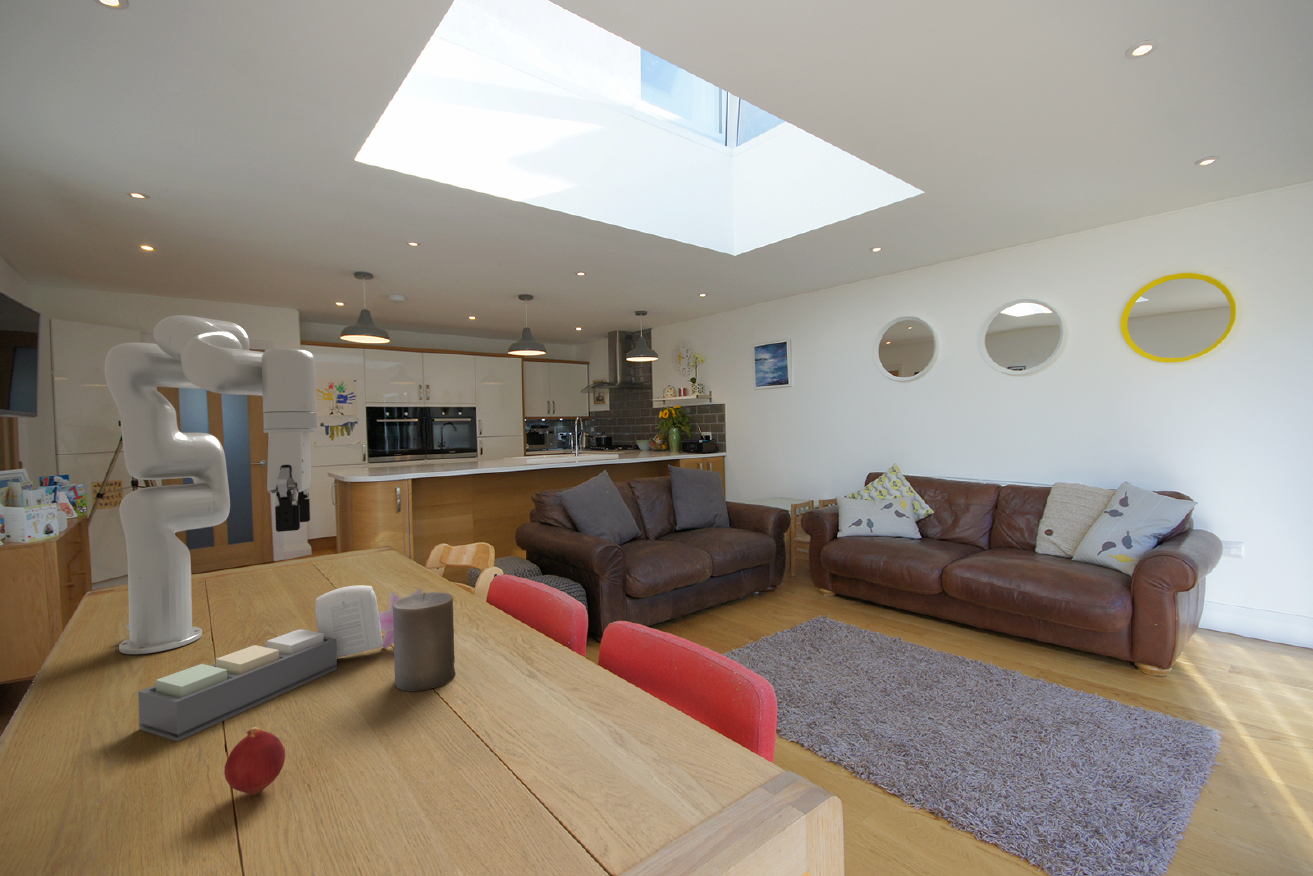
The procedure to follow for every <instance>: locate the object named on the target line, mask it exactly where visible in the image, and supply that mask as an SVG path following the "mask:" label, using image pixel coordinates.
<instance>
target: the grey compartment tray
mask: <svg viewBox="0 0 1313 876" xmlns="http://www.w3.org/2000/svg"><path fill="white" fill-rule="evenodd" d="M262 647H267V644H265V645H264V646H262ZM337 660H338V658H337V646H336V639H334V638H329V637H324V642H322V643H320V644H317V645H315V646H312V647H310V648H307V649H304V650H302V651H299V652H297V653H294V654H292V655H289V654H284V653H279V660H276V661H274V662H271V663H269V664H266V665H264V666H261V667H259V668H256V669H254V670H251V671H248V672H246V673H243V674H241V675H239V674H235V673H231V672H227V680H225V681H223V682H220V683H218V684H215V685H213V686H210V687H208V688H205V689H203V690H200V691H197V692H195V693H192V694H190V695H187V696H185V697H182V698H176V697H172V696H168V695H165V694H161V693H157V692H156V684H155V685H152V686H149V687H147V688H145V689H144V688H143V689H142V690H138V693H137V694H138V725H139V726H138V729H139V730H140V731H143V732H146V733H150V734H153V735H156V736H159V737H162V738H166V739H169V740H172V741H175V742H180V741H182V740H185V739H186V738H188V737H190V736H193V735H196V734H197V733H199V732H201V731H203V730H206V729H208V728H210V727H213V726H215V725H217V724H219V723H221V722H223V721H226V720H228V719H231V718H233V717H235V716H237V715H240V714H241V713H243V712H246V711H248V710H250V709H253V708H254V707H256V706H259V705H261V704H264V703H266V702H268V701H270V700H272V699H275V698H277V697H279V696H282V695H283V694H286V693H288V692H290V691H293V690H294V689H296V688H299V687H301V686H304V685H306V684H308V683H310V682H312V681H314V680H316V679H318V678H320V677H323V676H325V675H327V674H329V673H331V672H334V671H336V669H337V670H338V661H337ZM210 666H213V667H216V663H214V664H211V665H210Z"/></svg>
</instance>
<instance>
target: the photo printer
mask: <svg viewBox="0 0 1313 876" xmlns="http://www.w3.org/2000/svg"><path fill="white" fill-rule="evenodd" d="M314 612H315V618H316V624H317V626H316V627H317V632H319V633H323V634H324V637H329V638H334V639H336V646H337V659H338V658H342V657H347V656H350V655H355V654H359V653H362V652H367V651H371V650H375V649H379V648H382V645H383V639H384V638H383V634H382V633H383V632H382V630H381V625H380V619H379V613H380V612H379V606H378V600H377V595H376V593H375V591H374V588H373V586H372V585H363V584H361V585H348V586H344V587H343V586H342V587H340V588H336V589H333V590H331V591H327V592H326V593H323V594H321V595H320V596H318V597H316V599H315V606H314Z"/></svg>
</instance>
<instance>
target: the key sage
mask: <svg viewBox="0 0 1313 876" xmlns="http://www.w3.org/2000/svg"><path fill="white" fill-rule="evenodd" d="M225 680H227V670H226V669H222V668H218V667H213V666H211V665H208V664H205V663H200V664H197V665H195V666H191V667H189V668H186V669H184V670H179V671H178V672H174V673H172V674H171V673H170V674H169V675H166V676H164V677H160V678H157V679H155V685H156V692H157V693H161V694H165V695H168V696H172V697H176V698H182V697H185V696H187V695H190V694H192V693H195V692H197V691H200V690H203V689H205V688H208V687H210V686H213V685H215V684H218V683H220V682H223V681H225Z"/></svg>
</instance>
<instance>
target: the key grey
mask: <svg viewBox="0 0 1313 876" xmlns="http://www.w3.org/2000/svg"><path fill="white" fill-rule="evenodd" d="M322 642H324V634H323V633H319V632H318V631H311V630H309V629H307V630H306V629H301V628H300V629H296V630H292V631H291V632H287V633H286V634H282V635H279V636H276V637H274V638H270V639H268V640H266V645H267V648H272V649H277V650H279V653H284V654H289V655H292V654H294V653H297V652H299V651H302V650H304V649H307V648H310V647H312V646H315V645H317V644H320V643H322Z"/></svg>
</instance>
